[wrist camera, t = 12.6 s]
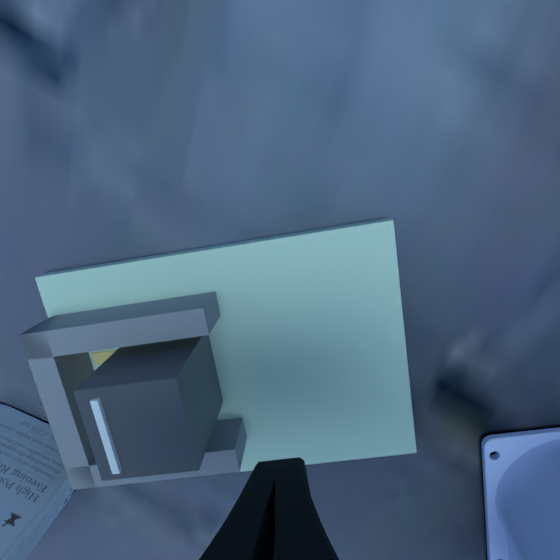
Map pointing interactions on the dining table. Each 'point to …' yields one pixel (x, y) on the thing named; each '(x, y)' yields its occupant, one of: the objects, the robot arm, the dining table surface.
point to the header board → (245, 345)
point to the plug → (151, 408)
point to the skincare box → (28, 482)
